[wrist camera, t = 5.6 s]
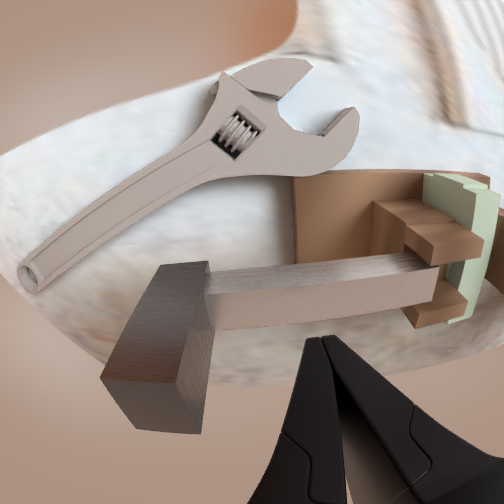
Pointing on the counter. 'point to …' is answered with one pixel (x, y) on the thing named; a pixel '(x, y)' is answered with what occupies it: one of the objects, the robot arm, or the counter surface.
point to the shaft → (238, 323)
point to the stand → (389, 229)
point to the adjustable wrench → (204, 162)
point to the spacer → (469, 216)
